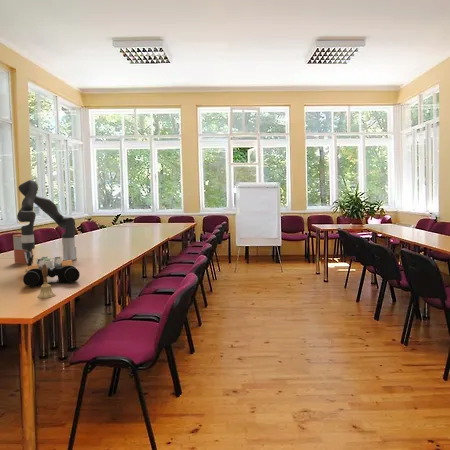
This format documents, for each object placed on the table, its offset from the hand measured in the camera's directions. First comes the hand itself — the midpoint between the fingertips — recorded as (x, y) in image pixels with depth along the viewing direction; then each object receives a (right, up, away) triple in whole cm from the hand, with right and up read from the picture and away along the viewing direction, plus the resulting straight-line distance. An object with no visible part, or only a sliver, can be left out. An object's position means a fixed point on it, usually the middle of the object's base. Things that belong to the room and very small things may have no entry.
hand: (29, 268), depth 263 cm
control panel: (-25, -1, +42) cm, 49 cm away
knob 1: (+4, -1, +1) cm, 4 cm away
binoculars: (+29, -6, -32) cm, 44 cm away
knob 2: (+17, 0, +13) cm, 21 cm away
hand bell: (+39, -8, -63) cm, 74 cm away
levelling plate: (+8, -2, +10) cm, 13 cm away
